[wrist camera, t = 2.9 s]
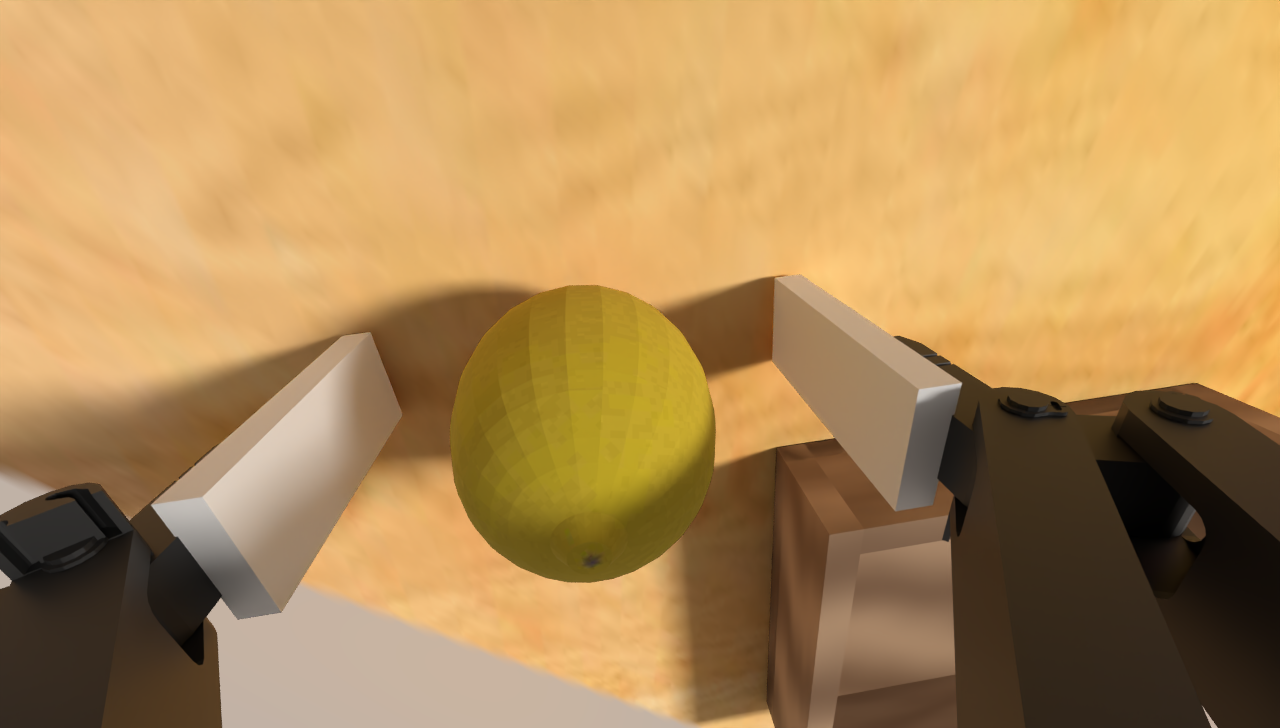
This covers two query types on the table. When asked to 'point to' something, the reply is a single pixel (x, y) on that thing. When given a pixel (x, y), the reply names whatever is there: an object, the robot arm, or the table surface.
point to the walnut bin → (877, 590)
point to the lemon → (582, 434)
